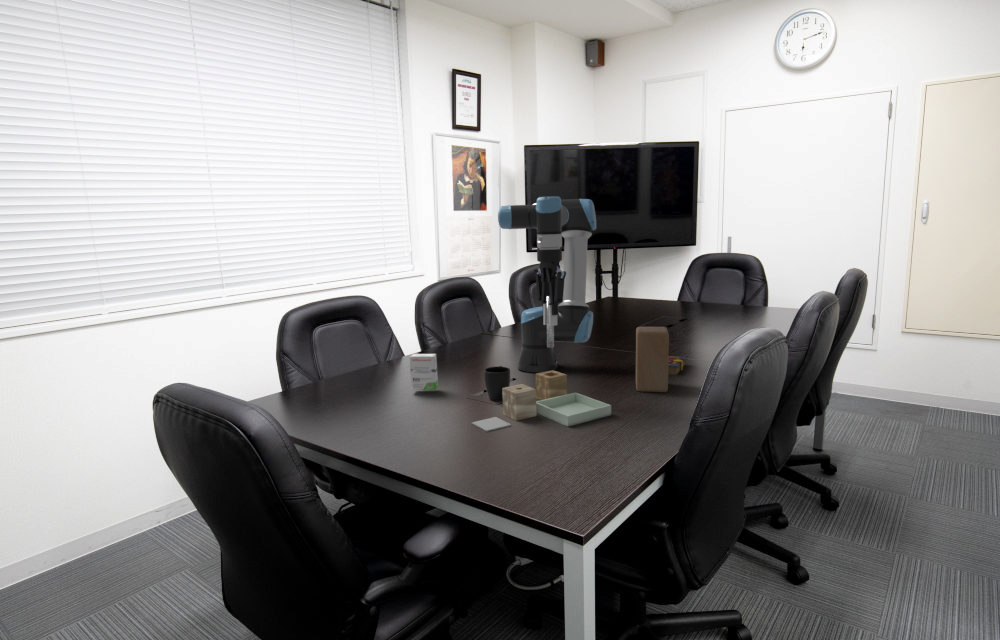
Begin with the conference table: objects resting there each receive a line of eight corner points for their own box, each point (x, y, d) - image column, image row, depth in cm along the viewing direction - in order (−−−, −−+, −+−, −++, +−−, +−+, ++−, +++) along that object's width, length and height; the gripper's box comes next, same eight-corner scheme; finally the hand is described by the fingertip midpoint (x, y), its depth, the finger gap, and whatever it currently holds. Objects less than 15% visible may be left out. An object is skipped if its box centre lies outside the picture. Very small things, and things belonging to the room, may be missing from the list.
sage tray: (533, 411, 177) (533, 402, 176) (575, 401, 185) (575, 392, 184) (567, 426, 163) (567, 416, 163) (611, 415, 172) (611, 405, 171)
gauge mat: (471, 423, 168) (471, 422, 168) (495, 418, 172) (495, 416, 172) (486, 431, 161) (486, 430, 161) (511, 425, 165) (510, 424, 165)
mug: (514, 391, 198) (514, 363, 196) (508, 402, 186) (507, 373, 184) (490, 390, 199) (489, 363, 198) (482, 401, 188) (481, 372, 186)
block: (668, 393, 191) (669, 332, 188) (636, 392, 193) (636, 331, 190) (665, 384, 201) (667, 326, 197) (635, 383, 203) (636, 326, 199)
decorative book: (645, 375, 214) (645, 361, 214) (656, 364, 228) (656, 352, 228) (677, 378, 209) (677, 364, 208) (686, 367, 223) (687, 354, 222)
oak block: (536, 398, 190) (535, 373, 188) (553, 394, 193) (553, 370, 192) (549, 403, 184) (548, 378, 183) (567, 399, 188) (566, 374, 186)
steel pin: (545, 346, 186) (545, 296, 183) (551, 345, 187) (550, 295, 185) (549, 347, 184) (549, 296, 182) (555, 347, 185) (555, 296, 183)
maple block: (503, 414, 175) (502, 388, 174) (522, 409, 179) (522, 384, 177) (516, 420, 169) (515, 393, 168) (536, 415, 173) (535, 389, 172)
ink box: (438, 386, 207) (437, 353, 205) (435, 390, 202) (434, 356, 200) (414, 386, 207) (412, 353, 205) (411, 390, 202) (409, 356, 200)
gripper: (524, 248, 185) (526, 323, 189) (554, 249, 172) (555, 329, 176) (544, 247, 189) (545, 320, 193) (575, 248, 176) (575, 326, 180)
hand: (550, 324), depth 185 cm, fingers closed on steel pin, 2 cm apart
